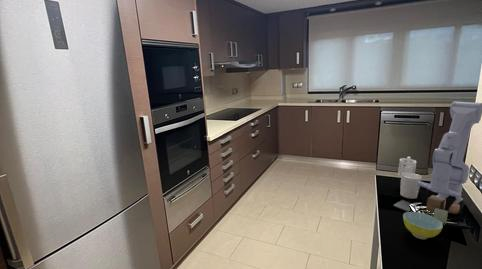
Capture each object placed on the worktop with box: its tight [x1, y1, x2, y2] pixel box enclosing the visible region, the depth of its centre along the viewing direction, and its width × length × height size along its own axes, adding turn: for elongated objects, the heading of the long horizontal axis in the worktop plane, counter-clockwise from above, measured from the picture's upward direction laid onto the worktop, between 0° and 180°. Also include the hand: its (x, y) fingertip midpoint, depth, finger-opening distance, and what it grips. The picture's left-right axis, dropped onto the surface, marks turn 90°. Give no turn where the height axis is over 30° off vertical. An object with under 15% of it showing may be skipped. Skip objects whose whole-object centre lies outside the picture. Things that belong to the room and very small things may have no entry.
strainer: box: [397, 156, 417, 178], centre depth 130 cm, size 7×7×15 cm
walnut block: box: [425, 194, 445, 214], centre depth 107 cm, size 4×4×6 cm
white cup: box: [399, 172, 423, 200], centre depth 121 cm, size 8×8×10 cm
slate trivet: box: [393, 199, 413, 212], centre depth 111 cm, size 8×8×1 cm
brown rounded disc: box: [443, 200, 461, 215], centre depth 109 cm, size 6×6×3 cm
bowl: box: [402, 211, 444, 240], centre depth 91 cm, size 11×12×6 cm
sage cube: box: [432, 208, 449, 225], centre depth 101 cm, size 4×4×4 cm
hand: (434, 208), depth 107 cm, fingers open, 7 cm apart
